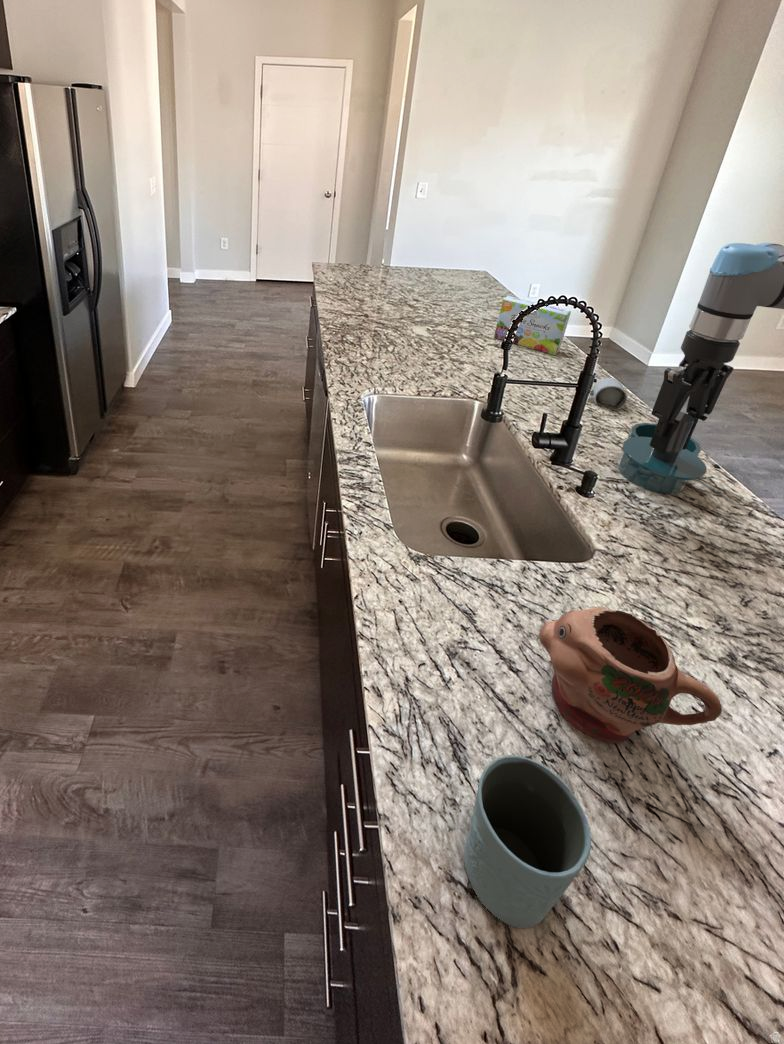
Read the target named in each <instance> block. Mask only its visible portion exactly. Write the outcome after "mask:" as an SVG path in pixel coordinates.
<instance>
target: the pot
mask: <svg viewBox="0 0 784 1044" xmlns="http://www.w3.org/2000/svg"><path fill="white" fill-rule="evenodd" d="M656 426H657V423H653V422H641V423H635V424H634V425H633V426H631V428H630V430H629V433H628V435H627V438H626V440H627V439H629V438H632V437H651V438H652V437H653V435H654V431H655V428H656ZM686 449H687V450H689V451H690V452H692V453H694V454H695V455H696V456H698V457H699V456H700V454H701V451H702V449H701V445H700V444H699V442H698V441H697V440H695V439H694V438H693V437H691V438H690V440H689V442H688V445H687V447H686ZM617 471H619V473H620V474H621V475H622V477H624V478H625V479H626V480H627V481H629V482H630V483H632V484H634V485H636V486H638V487H640V488H642V489H644V490H647V491H651V492H654V493H658V494H667V495H673V494H678V493H681V492H682V491H683V489H684V488H685V486H686V484H687V482H688V481H687V480H677V479H671V478H667V477H664V476H660V475H658V474H655V473H652V472H650V471H648V470H646V469H644V468H642V467H640V466H638V465H637V464H635V463H634V462H632V461H631V460H630V459H629V458H628V457H627V456H626V455H625V453H624V452H623V450H622V451H621V453H620V456H619V458H618V462H617Z"/></svg>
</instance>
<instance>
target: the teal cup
mask: <svg viewBox="0 0 784 1044" xmlns="http://www.w3.org/2000/svg"><path fill="white" fill-rule="evenodd" d="M591 836H592V834H591V829H590V825H589V822H588V818H587V816H586V813H585V811H584V809H583V807H582V805H581V804H580V801H579V800H578V798H577V797H576V795H575V794H574V792H573V791H572V790H571V789H570V788H569V786H568V785H567V784H566V783H565V781H564V780H562V779H561V777H559V776H558V775H557V774H556V773H555V772H553V771H552V770H551V769H550V768H548V767H546V766H545V765H543V764H542V763H540V762H537V761H536V760H533V759H532V758H529V757H525V756H521V755H508V754H507V755H504V756H499V757H497V758H496V759H493V760H492V761H491V762H490V763H489V764H487V766H486V767H485V768H484V769H483V771H482V773H481V775H480V777H479V781H478V785H477V791H476V795H475V803H474V805H473V813H472V817H471V825H470V828H469V831H468V833H467V835H466V840H465V845H464V851H463V857H464V858H463V859H464V861H463V862H464V867H465V871H466V875H467V877H468V878H467V879H468V881H469V883H470V885H471V888H472V890H474V891H475V892H474V891H473V892H474V893H475V896H476V895H477V896H476V898H477V899H478V898H479V899H478V901H479V900H480V901H481V902H482V903H481V902H480V901H479V902H480V903H481V905H482V904H483V905H484V906H485V907H486V908H485V907H484V906H483V905H482V906H483V907H484V908H485V910H487V909H488V910H489V911H490V912H491V913H492V914H493V915H494V916H495V917H494V916H493V915H492V914H491V913H490V912H489V911H488V910H487V911H488V912H489V913H490V914H491V915H492V916H493V917H494V918H496V917H497V918H498V919H497V918H496V919H497V920H499V919H500V920H501V921H503V922H504V923H503V922H502V923H503V924H505V923H506V924H505V925H507V924H509V925H508V926H510V925H511V926H510V927H513V926H514V927H513V928H517V927H519V928H518V929H528V928H533V927H535V926H537V925H538V924H540V923H541V922H542V921H544V919H545V917H546V916H547V915H548V914H549V912H550V911H551V909H553V907H554V906H555V905H556V904H557V903H558V901H559V899H560V898H561V897H562V896H563V895H564V893H565V892H566V891H567V889H569V887H570V885H572V883H573V881H574V880H575V879H576V877H578V875H579V873H580V872H581V871H582V869H584V867H585V865H586V863H588V860H589V859H590V855H591V851H592V837H591ZM500 920H499V921H500ZM501 921H500V922H501Z"/></svg>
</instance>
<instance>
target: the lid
mask: <svg viewBox="0 0 784 1044" xmlns="http://www.w3.org/2000/svg"><path fill="white" fill-rule="evenodd" d="M674 422H676V423H677V425H676V427H675V430H674V432H673V434H672V437H671V439H670V442H669V444H668V447H667V449H666V451H665V453H661V452H659V451H657V450H656V449H654V448H653V447H651V446H650V442H651V440H652V438H651V437H632V438H629V439H627V438H626V439H625V440H624V441H623V443H622V448H621V449H622V451H623V452H624V453H625V455H626V456H627V457H628V458H629V459H630V460H631V461H632V462H634V463H635V464H637V465H638V466H640V467H642V468H644V469H646V470H648V471H650V472H652V473H655V474H658V475H660V476H664V477H667V478H671V479H677V480H687V482H688V481H697V480H700V479H702V478H703V477H705V476H706V473H707V472H708V471H707V470H708V469H707V465H706V463H705V462H704V461H703V460H702V459H701V458H700V457H699V456H696V455H695V454H694V453H692V452H690V451H689V450H687V449H683V450H682V448H683V446H684V444H685V441H686V439H687V437H688V434H689V432H690V430H691V427H692V425H693V423H694V418H693V417H692V416H690V415H688V413H687V412H683V411H680V412H679V414H678V416H677V417H676V419H675V421H674Z"/></svg>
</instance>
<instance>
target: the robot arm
mask: <svg viewBox="0 0 784 1044" xmlns="http://www.w3.org/2000/svg"><path fill="white" fill-rule="evenodd" d="M757 307H762V308H770V309H779V310H784V245H782V244H780V243H772V242H762V243H761V242H760V243H758V244H757V243H756V244H752V243H745V242H732V243H727V244H725V245H723V246H722V247H721V248H720V250H719V251H718V253H717V255H716V257H715V259H714V261H713V263H712V265H711V267H710V268H709V271H708V275H707V279H706V281H705V284H704V287H703V289H702V292H701V295H700V298H699V300H698V302H697V306H696V309H695V310H694V313H693V316H692V318H691V321H690V323H689V325H688V326H689V330H687V331H686V332H685V335H684V338H683V341H682V343H681V346H680V350H681V352H682V353H683V355H684V357H683V359H682V360H681V361H680V362H679V364H678V367H675V368H673V369H672V368H670V367H667V368H666V369H665V370H664V371H663V381H662V384H661V386H660V389H659V391H658V393H657V397H656V400H655V402H654V404H653V408H652V410H651V413H650V414H651V415H652V416H653V417H655V418H656V419H658V421H657V423H656V424H657V426H656V428H655V431H654V435H653V437H652V440H651V442H650V446H651V447H653V448H654V449H656V450H657V451H659V452H661V453H665V451H666V449H667V447H668V444H669V442H670V439H671V437H672V434H673V432H674V430H675V427H676V425H677V423H676V422H674V421H675V419H676V417H677V416H678V414H679V412H682V409H683V407H684V406H685V404H686V402H687V405H686V409H685V413H686V414H688V415H690V416H692V417H693V418H694V423H693V425H692V427H691V430H690V432H689V434H688V437H687V439H686V441H685V444H684V446H683V448H682V450H683V449H686V447H687V445H688V442H689V440H690V438H692V435H693V433H694V431H695V430H696V426H697V424H698V422H699V420H700V421H702V422H705V421H706V420H708V416H709V415H711V414H712V412H713V411H714V408H715V406H716V403H717V401H718V399H719V398H720V395H721V393H722V391H723V389H724V386H725V384H726V382H727V380H728V379H729V377H730V376H731V374H732V373H733V371H734V369H735V368H734V367H733V366H731V365H729V364H728V363H731V362H732V361H733V360H734V359H735V356H736V354H737V352H738V350H739V347H740V345H741V343H740V340H743V339H744V336H745V334H746V332H747V330H748V327H749V325H750V322H751V320H752V317H753V316H754V313H755V311H756V309H757ZM706 415H707V416H706Z"/></svg>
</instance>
